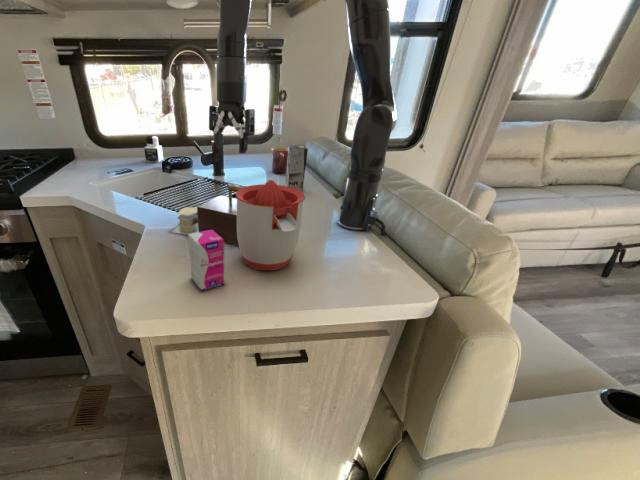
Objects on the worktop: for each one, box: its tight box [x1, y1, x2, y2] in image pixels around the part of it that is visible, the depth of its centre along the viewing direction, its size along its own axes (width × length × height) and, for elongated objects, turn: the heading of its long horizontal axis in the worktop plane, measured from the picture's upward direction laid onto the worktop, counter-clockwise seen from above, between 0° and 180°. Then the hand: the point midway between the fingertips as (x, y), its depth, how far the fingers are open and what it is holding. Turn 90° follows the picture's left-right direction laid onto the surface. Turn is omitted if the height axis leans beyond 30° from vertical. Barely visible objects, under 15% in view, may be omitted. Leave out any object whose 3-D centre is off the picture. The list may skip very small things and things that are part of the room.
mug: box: [271, 146, 289, 174], centre depth 152 cm, size 12×9×10 cm
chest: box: [197, 210, 239, 247], centre depth 94 cm, size 11×14×8 cm
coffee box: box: [284, 144, 309, 192], centre depth 129 cm, size 9×6×16 cm
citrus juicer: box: [235, 179, 306, 271], centre depth 76 cm, size 16×17×20 cm
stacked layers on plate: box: [169, 206, 199, 236], centre depth 97 cm, size 10×9×6 cm
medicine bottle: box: [143, 135, 164, 164], centre depth 169 cm, size 7×7×12 cm
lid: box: [196, 184, 245, 218], centre depth 90 cm, size 12×14×5 cm
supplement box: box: [187, 230, 225, 292], centre depth 70 cm, size 6×6×12 cm
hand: (230, 150), depth 89 cm, fingers open, 8 cm apart
